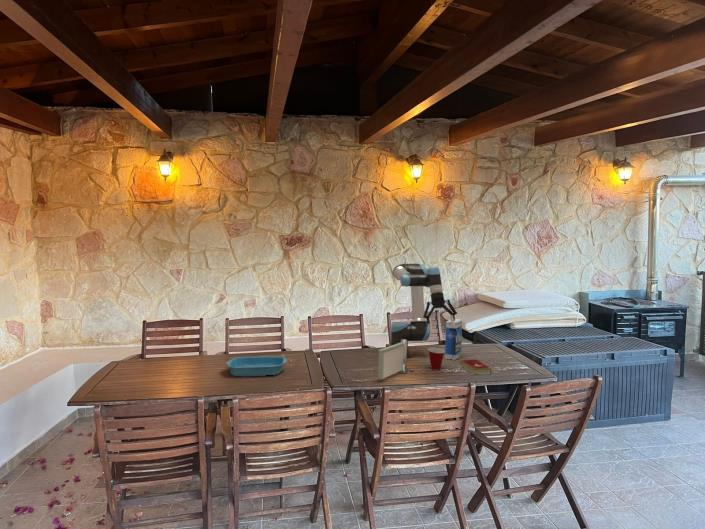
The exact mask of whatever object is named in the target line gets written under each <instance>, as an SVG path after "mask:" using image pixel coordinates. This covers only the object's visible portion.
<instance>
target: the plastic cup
mask: <svg viewBox="0 0 705 529" xmlns="http://www.w3.org/2000/svg"><path fill="white" fill-rule="evenodd" d="M427 350H428V355H429V363H430V368H431V369H432V370H440V369H441V368H442V364H443V358H444V356H445V350H444V349H442V348H438V347H428V348H427Z"/></svg>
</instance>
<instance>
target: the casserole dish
mask: <svg viewBox="0 0 705 529" xmlns="http://www.w3.org/2000/svg"><path fill="white" fill-rule="evenodd" d="M286 363H288V359H287V358H285V357H283V356H279V355H277V356H276V355H273V356H272V355H271V356H269V355H268V356H265V355H264V356H239V357H234V358H232V359H230V360H228V361H226V362H225V365H226V366H228V369H229V371H230V375H232V376H234V377H267V376H266V375H273V376H277V375H279V374H280V373H281V371H282V370H283V367H284V365H285V364H286ZM276 374H277V375H276Z"/></svg>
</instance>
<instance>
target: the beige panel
mask: <svg viewBox="0 0 705 529" xmlns="http://www.w3.org/2000/svg"><path fill="white" fill-rule="evenodd" d="M401 370H403V343H398V344H395V345H392V346H391V345H388V346H387V347H383V348H381V349H378V378H377V379H379V380H384V379H385V378H387V377H390V376H392V375H394V374H397V373H399V371H401Z"/></svg>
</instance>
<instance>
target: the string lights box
mask: <svg viewBox="0 0 705 529" xmlns="http://www.w3.org/2000/svg"><path fill="white" fill-rule="evenodd" d="M454 326H455V327H452V324H451V319H449V320H447V321H445V346H444V347H445V353H444V359H445V360H450V359H452V360H453V361H456V360H457V358H458V359H460V358H461V357H462V344H463V342H462V340H463V335H462V334H463V332H462V331H463V319H461V318H460V319H459V318H455V321H454ZM460 356H461V357H460Z"/></svg>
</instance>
